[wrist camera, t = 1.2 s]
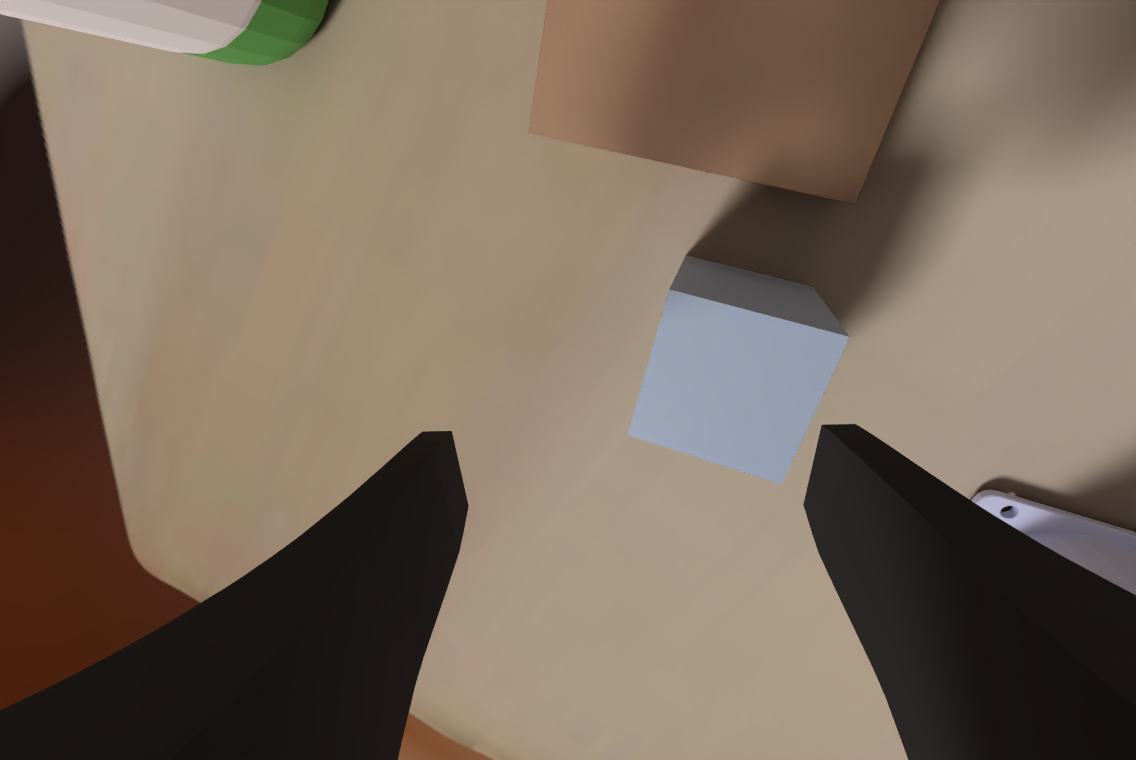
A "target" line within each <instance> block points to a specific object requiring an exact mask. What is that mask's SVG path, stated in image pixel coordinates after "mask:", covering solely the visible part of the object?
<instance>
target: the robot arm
mask: <svg viewBox="0 0 1136 760" xmlns="http://www.w3.org/2000/svg"><path fill="white" fill-rule="evenodd" d="M1006 506H1013V507H1012V508H1011V509H1010V510H1009V511H1006V512H1001V509H1002V508H1004V507H1006ZM804 508H805V511H806V514H807V518H808V521H809V524H810V528H811V531H812V534H813V537H814V540H815V543H816V546H817V549H818V552H819V554H820V557H821V559H822V561H823V563H824V565H825V568H826V570H827V572H828V574H829V576H830V578H831V580H832V583H833V585H834V587H835V589H836V591H837V593H838V595H839V598H840V600H841V602H842V604H843V606H844V608H845V610H846V612H847V614H848V616H849V618H850V621H851V623H852V625H853V627H854V629H855V631H856V633H857V635H858V637H859V639H860V642H861V644H862V646H863V648H864V650H865V652H866V654H867V656H868V658H869V660H870V663H871V665H872V667H873V669H874V671H875V674H876V676H877V678H878V681H879V683H880V685H881V688H882V690H883V692H884V695H885V697H886V699H887V702H888V705H889V708H890V710H891V713H892V716H893V719H894V721H895V724H896V727H897V730H898V732H899V735H900V738H901V741H902V743H903V746H904V749H905V752H906V754H907V757H908V760H1136V532H1134V531H1131V530H1127V529H1124V528H1121V527H1117V526H1114V525H1111V524H1107V523H1104V522H1100V521H1097V520H1094V519H1090V518H1087V517H1084V516H1080V515H1077V514H1074V513H1070V512H1067V511H1064V510H1060V509H1057V508H1054V507H1050V506H1047V505H1044V504H1040V503H1037V502H1034V501H1030V500H1027V499H1024V498H1020V497H1017V496H1014V495H1010V494H1007V493H1003V492H1000V491H997V490H984V491H982V492H979V493H978V494H977V495H976V496H975V497H974V498H973V499H972V501H971V500H969V499H968V498H966V497H965V496H963V495H961V494H960V493H958V492H957V491H955V490H954V489H952V488H951V487H949V486H948V485H946V484H945V483H943V482H942V481H940V480H939V479H937V478H936V477H934V476H933V475H931V474H930V473H928V472H927V471H925V470H924V469H922V468H921V467H920V466H918V465H917V464H915V463H914V462H912V461H911V460H909V459H908V458H906V457H905V456H903V455H902V454H901V453H899V452H898V451H896V450H895V449H893V448H892V447H890V446H889V445H887V444H886V443H884V442H883V441H881V440H880V439H878V438H877V437H875V436H874V435H872V434H871V433H869V432H868V431H866V430H864V429H863V428H861V427H859V426H858V425H856V424H839V425H822V426H821V430H820V435H819V439H818V444H817V448H816V452H815V457H814V461H813V465H812V470H811V474H810V479H809V483H808V487H807V492H806V496H805V500H804ZM467 511H468V502H467V497H466V493H465V488H464V484H463V480H462V475H461V471H460V466H459V462H458V457H457V453H456V448H455V444H454V439H453V435H452V431H430V432H422V433H420V434H419V435H418V436H417V437H415V438H414V439H413V440H412V441H411V442H410V443H408V444H407V445H406V446H405V447H404V448H403V449H402V450H401V451H400V452H398V453H397V454H396V455H395V456H394V457H393V458H392V459H391V460H390V461H388V462H387V463H386V464H385V465H384V466H383V467H382V468H381V469H380V470H378V471H377V472H376V473H375V474H374V475H373V476H372V477H370V478H369V479H368V480H367V481H366V482H365V483H364V484H362V485H361V486H360V487H359V488H358V489H357V490H356V491H354V492H353V493H352V494H351V495H350V496H349V497H348V498H346V499H345V500H344V501H343V502H341V503H340V504H339V505H338V506H337V507H335V508H334V509H333V510H332V511H330V512H329V513H328V514H327V515H325V516H324V517H323V518H322V519H320V520H319V521H318V522H317V523H315V524H314V525H313V526H312V527H310V528H309V529H308V530H307V531H306V532H304V533H303V534H302V535H301V536H299V537H298V538H297V539H295V540H294V541H293V542H291V543H290V544H289V545H287V546H286V547H284V548H283V549H282V550H280V551H279V552H278V553H276V554H275V555H273V556H272V557H271V558H269V559H268V560H266V561H265V562H263V563H262V564H260V565H259V566H258V567H256V568H255V569H253V570H252V571H250V572H249V573H247V574H246V575H244V576H243V577H241V578H240V579H238V580H237V581H235V582H234V583H232V584H231V585H229V586H228V587H226V588H224V589H223V590H221V591H220V592H218V593H216V594H215V595H213V596H211V597H210V598H208V599H207V600H205V601H203V602H202V603H200V604H198V605H197V606H195V607H193V608H192V609H190V610H189V611H187V612H185V613H184V614H182V615H180V616H179V617H177V618H176V619H174V620H173V621H171V622H169V623H167V624H166V625H164V626H162V627H160V628H159V629H157V630H155V631H153V632H152V633H150V634H148V635H146V636H145V637H143V638H141V639H139V640H137V641H136V642H134V643H132V644H130V645H128V646H127V647H125V648H123V649H121V650H119V651H117V652H116V653H114V654H112V655H110V656H108V657H106V658H104V659H102V660H101V661H99V662H97V663H95V664H93V665H91V666H89V667H87V668H85V669H84V670H82V671H80V672H78V673H76V674H74V675H72V676H70V677H68V678H66V679H64V680H62V681H60V682H58V683H56V684H54V685H52V686H50V687H49V688H46V689H44V690H42V691H40V692H38V693H36V694H34V695H32V696H30V697H28V698H25V699H23V700H21V701H19V702H17V703H15V704H13V705H11V706H9V707H7V708H5V709H3V710H0V760H398V756H399V751H400V746H401V742H402V738H403V734H404V730H405V726H406V721H407V717H408V713H409V709H410V705H411V701H412V696H413V692H414V688H415V684H416V681H417V677H418V674H419V671H420V667H421V664H422V661H423V657H424V655H425V652H426V649H427V646H428V643H429V640H430V637H431V634H432V631H433V628H434V625H435V622H436V619H437V616H438V614H439V611H440V608H441V605H442V602H443V599H444V596H445V593H446V590H447V587H448V584H449V581H450V578H451V575H452V572H453V569H454V566H455V563H456V560H457V557H458V554H459V550H460V546H461V541H462V537H463V532H464V527H465V521H466V516H467Z"/></svg>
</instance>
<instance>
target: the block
mask: <svg viewBox="0 0 1136 760" xmlns="http://www.w3.org/2000/svg"><path fill="white" fill-rule="evenodd" d="M849 337H850V336H849V335H848V334H847V332H846V331H845V330H844V328H843V327H842V326H841V324H840V323H839V322H838V320H837V319H836V318H835V316H834V315H833V314H832V312H831V311H830V310H829V308H828V307H827V306H826V304H825V303H824V301H823V300H822V299H821V297H820V296H819V295H818V293H817V292H816V291H815V289H814V288H813V287H812V286H809V285H805V284H801V283H797V282H793V281H789V280H785V279H781V278H777V277H773V276H769V275H765V274H761V273H757V272H753V271H749V270H745V269H741V268H737V267H733V266H729V265H725V264H720V263H716V262H712V261H708V260H704V259H700V258H696V257H692V256H688V255H686V256H685V258H684V260H683V262H682V264H681V266H680V268H679V271H678V273H677V275H676V277H675V279H674V281H673V283H672V285H671V287H670V289H669V292H668V296H667V299H666V303H665V306H664V310H663V313H662V317H661V320H660V324H659V327H658V331H657V334H656V338H655V341H654V344H653V348H652V351H651V355H650V358H649V362H648V365H647V369H646V372H645V376H644V379H643V383H642V386H641V390H640V393H639V397H638V400H637V404H636V407H635V411H634V414H633V418H632V421H631V424H630V428H629V431H628V436H631V437H635V438H638V439H641V440H644V441H647V442H650V443H653V444H657V445H660V446H663V447H666V448H669V449H672V450H675V451H678V452H682V453H685V454H688V455H691V456H694V457H697V458H700V459H704V460H707V461H710V462H713V463H716V464H719V465H722V466H725V467H729V468H732V469H735V470H738V471H741V472H744V473H747V474H751V475H754V476H757V477H760V478H763V479H766V480H769V481H772V482H776V483H779V484H782V482H783V480H784V478H785V476H786V473H787V471H788V469H789V467H790V465H791V463H792V461H793V458H794V456H795V454H796V452H797V450H798V448H799V445H800V443H801V441H802V439H803V437H804V435H805V432H806V430H807V428H808V426H809V424H810V422H811V420H812V417H813V415H814V413H815V411H816V409H817V407H818V404H819V402H820V400H821V398H822V396H823V394H824V391H825V389H826V387H827V385H828V383H829V381H830V379H831V376H832V374H833V372H834V370H835V368H836V366H837V363H838V361H839V359H840V357H841V355H842V353H843V350H844V348H845V346H846V344H847V342H848V340H849Z"/></svg>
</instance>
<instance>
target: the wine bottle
mask: <svg viewBox="0 0 1136 760" xmlns="http://www.w3.org/2000/svg"><path fill="white" fill-rule="evenodd" d="M328 1H329V0H0V14H3V15H7V16H11V17H16V18H21V19H25V20H30V21H34V22H39V23H43V24H48V25H53V26H57V27H62V28H66V29H71V30H75V31H80V32H85V33H89V34H94V35H98V36H103V37H107V38H112V39H117V40H121V41H126V42H130V43H135V44H139V45H144V46H149V47H153V48H158V49H162V50H167V51H171V52H181V53H185V54H190V55H194V56H199V57H203V58H208V59H213V60H217V61H222V62H226V63H233V64H246V65H267V64H270V63H273V62H276V61H279V60H282V59H285V58H288V57H290V56H291V55H293V54H294V53H295V52H296V51H297V50H299V49H300V48H301V47H302V46H304V45H305V44H306V43H307V42H308V41H309V40H310V38H311V37H312V35H313V34H314V32H315V30H316V29H317V27H318V26H319V24H320V23H321V21H322V19H323V16H324V13H325V10H326V7H327V4H328Z"/></svg>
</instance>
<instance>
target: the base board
mask: <svg viewBox="0 0 1136 760" xmlns="http://www.w3.org/2000/svg"><path fill="white" fill-rule="evenodd" d="M939 2H940V0H547V7H546V14H545V21H544V28H543V34H542V41H541V48H540V55H539V62H538V69H537V76H536V83H535V89H534V96H533V103H532V110H531V117H530V124H529V131H528V133H531V134H536V135H541V136H545V137H550V138H554V139H559V140H564V141H568V142H573V143H577V144H582V145H586V146H591V147H596V148H600V149H605V150H609V151H614V152H618V153H623V154H628V155H632V156H637V157H641V158H646V159H651V160H655V161H660V162H664V163H669V164H673V165H678V166H683V167H687V168H692V169H696V170H701V171H706V172H710V173H715V174H719V175H724V176H728V177H733V178H738V179H742V180H747V181H751V182H756V183H761V184H765V185H770V186H774V187H779V188H783V189H788V190H793V191H797V192H802V193H806V194H811V195H816V196H820V197H825V198H829V199H834V200H838V201H843V202H848V203H852V204H855V203H856V200H857V198H858V195H859V193H860V191H861V188H862V186H863V183H864V181H865V179H866V176H867V174H868V171H869V169H870V167H871V164H872V162H873V160H874V157H875V155H876V152H877V150H878V148H879V145H880V143H881V140H882V138H883V136H884V133H885V131H886V128H887V126H888V124H889V121H890V119H891V116H892V114H893V112H894V109H895V107H896V104H897V102H898V100H899V97H900V95H901V92H902V90H903V88H904V85H905V83H906V81H907V78H908V76H909V73H910V71H911V69H912V66H913V64H914V61H915V59H916V57H917V54H918V52H919V49H920V47H921V45H922V42H923V40H924V37H925V35H926V33H927V30H928V28H929V25H930V23H931V21H932V18H933V16H934V13H935V11H936V9H937V6H938V4H939Z"/></svg>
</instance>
